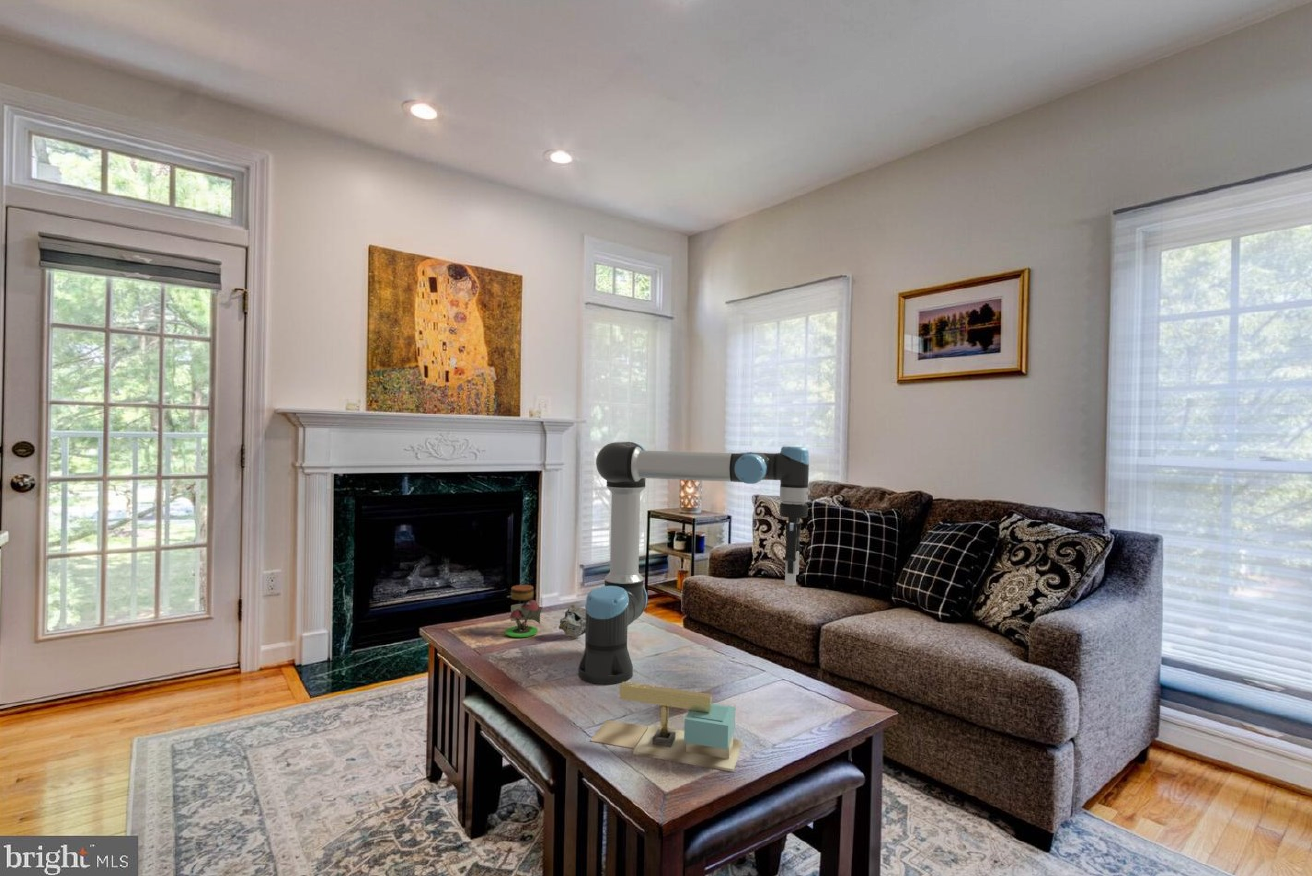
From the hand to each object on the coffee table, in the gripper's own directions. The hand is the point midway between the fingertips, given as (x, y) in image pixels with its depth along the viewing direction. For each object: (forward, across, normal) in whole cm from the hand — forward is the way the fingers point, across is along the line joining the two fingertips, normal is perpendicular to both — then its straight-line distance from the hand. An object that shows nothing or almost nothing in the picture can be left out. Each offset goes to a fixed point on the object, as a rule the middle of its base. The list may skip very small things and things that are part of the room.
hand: (792, 579), depth 167 cm
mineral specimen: (+28, +11, +69) cm, 75 cm away
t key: (+28, -45, +23) cm, 58 cm away
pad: (+28, -44, +34) cm, 62 cm away
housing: (+28, -45, +18) cm, 56 cm away
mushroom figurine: (+28, +10, +88) cm, 93 cm away
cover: (+24, -45, +13) cm, 53 cm away
